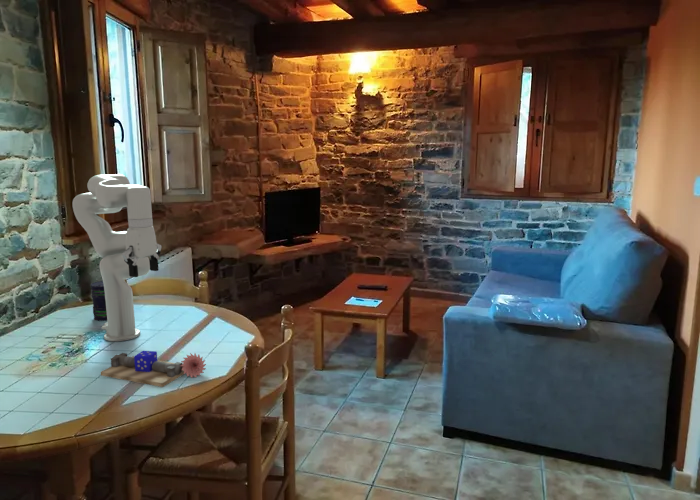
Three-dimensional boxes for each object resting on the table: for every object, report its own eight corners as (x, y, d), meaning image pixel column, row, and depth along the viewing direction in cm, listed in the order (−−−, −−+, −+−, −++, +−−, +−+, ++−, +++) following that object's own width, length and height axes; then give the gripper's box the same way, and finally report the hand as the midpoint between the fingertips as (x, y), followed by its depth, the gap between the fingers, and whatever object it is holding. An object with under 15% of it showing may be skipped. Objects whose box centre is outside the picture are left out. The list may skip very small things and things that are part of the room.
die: (143, 365, 173) (142, 350, 172) (158, 366, 172) (157, 351, 171) (135, 371, 168) (133, 356, 167) (149, 372, 167) (148, 357, 166)
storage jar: (102, 313, 232) (99, 280, 230) (123, 314, 231) (121, 280, 228) (88, 320, 223) (85, 285, 220) (110, 321, 221) (107, 286, 219)
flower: (182, 352, 171) (186, 347, 166) (206, 359, 173) (210, 355, 169) (174, 376, 167) (178, 372, 162) (199, 383, 169) (204, 379, 165)
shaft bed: (99, 375, 168) (98, 362, 167) (132, 359, 181) (131, 347, 180) (163, 387, 159) (162, 374, 158) (193, 369, 172) (192, 357, 171)
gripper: (149, 220, 188) (153, 267, 191) (112, 226, 172) (116, 278, 175) (167, 221, 185) (170, 269, 188) (130, 227, 169) (134, 280, 172)
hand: (144, 273), depth 182 cm, fingers open, 9 cm apart
